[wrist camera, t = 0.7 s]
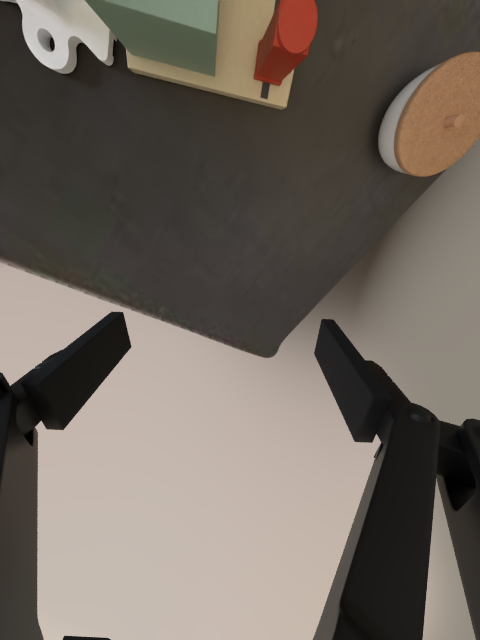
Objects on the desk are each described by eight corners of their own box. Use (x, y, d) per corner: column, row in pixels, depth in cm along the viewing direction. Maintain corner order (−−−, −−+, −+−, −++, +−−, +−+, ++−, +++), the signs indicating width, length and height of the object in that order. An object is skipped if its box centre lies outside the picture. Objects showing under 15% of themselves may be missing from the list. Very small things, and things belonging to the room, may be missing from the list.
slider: (279, 87, 26) (311, 58, 18) (253, 80, 26) (273, 47, 17) (286, 49, 24) (325, -3, 16) (258, 41, 24) (283, -18, 15)
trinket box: (454, 116, 31) (528, 107, 24) (387, 187, 36) (432, 197, 29) (420, 45, 27) (498, 6, 20) (349, 137, 32) (390, 133, 24)
